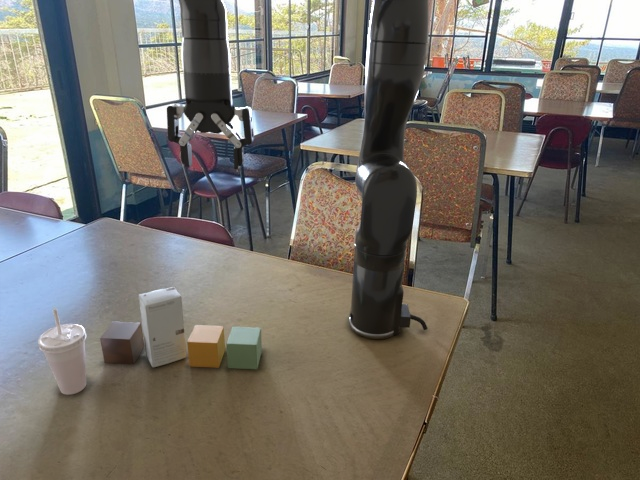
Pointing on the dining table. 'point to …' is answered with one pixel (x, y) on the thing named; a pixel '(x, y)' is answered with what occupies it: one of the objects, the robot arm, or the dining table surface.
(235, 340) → the block sage
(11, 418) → the dining table surface
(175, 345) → the cosmetic box
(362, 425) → the dining table surface
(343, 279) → the dining table surface
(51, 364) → the smoothie
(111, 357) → the block walnut
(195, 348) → the block ochre
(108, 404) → the dining table surface
